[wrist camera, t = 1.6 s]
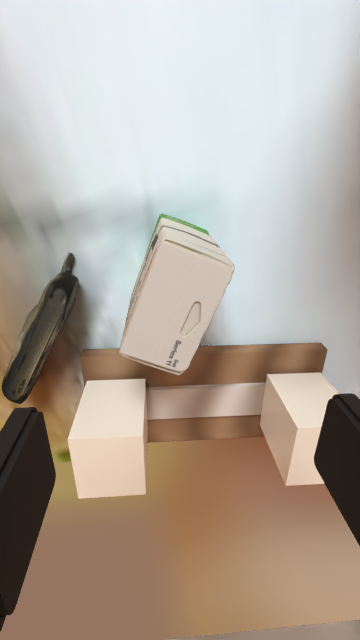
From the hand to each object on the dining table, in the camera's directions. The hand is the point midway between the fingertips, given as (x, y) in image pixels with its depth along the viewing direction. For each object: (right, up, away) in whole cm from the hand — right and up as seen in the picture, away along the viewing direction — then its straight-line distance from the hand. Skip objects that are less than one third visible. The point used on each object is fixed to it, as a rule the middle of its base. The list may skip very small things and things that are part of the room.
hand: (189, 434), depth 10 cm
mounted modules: (+2, -6, +25) cm, 25 cm away
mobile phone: (-13, +4, +22) cm, 26 cm away
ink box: (-1, +9, +20) cm, 22 cm away
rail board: (+2, -5, +26) cm, 27 cm away
